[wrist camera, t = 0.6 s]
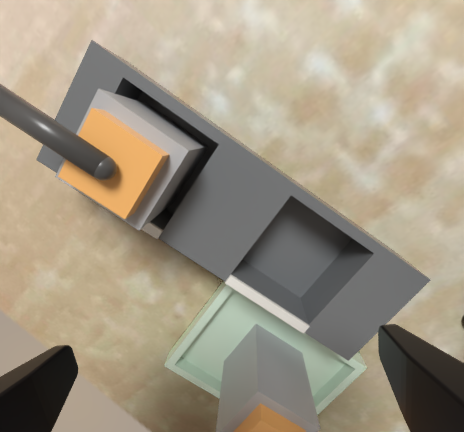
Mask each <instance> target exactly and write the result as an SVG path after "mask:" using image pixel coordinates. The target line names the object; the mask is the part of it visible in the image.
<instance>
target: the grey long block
mask: <svg viewBox="0 0 464 432" xmlns="http://www.w3.org/2000/svg"><path fill="white" fill-rule="evenodd" d="M98 88H99V89H102V90H105V91H108V92H111V93H114V94H118V95H121V96H124V97H127V98H130V99H133V100H136V101H140V102H143V103H146V104H149V105H150V106H152V107H153V108H155V109H156V110H157V111H159V112H160V113H162V114H163V115H165V116H166V117H167V118H169V119H170V120H172V121H173V122H175V123H176V124H178V125H179V126H180V127H182V128H183V129H185V130H186V131H188V132H189V133H190V134H192V135H193V136H195V137H196V138H198V139H199V140H200V141H202V142H203V143H205V144H206V145H208V148H207V150H206V151H205V153H204V154H203V156H202V157H201V159H200V161H199V162H198V164H197V165H196V167H195V168H194V170H193V171H192V173H191V175H190V176H189V178H188V179H187V181H186V182H185V184H184V186H183V187H182V189H181V190H180V192H179V193H178V195H177V197H176V198H175V200H174V201H173V203H171V204H170V205H169V206H168V207H167V208H165V209H164V210H163V211H162V212H161V213H160V214H158V215H157V216H156V217H155V218H154V219H152V220H151V221H150V222H149V223H148V224H147V225H145V226H144V227H143V228H142V230H143V231H145V232H146V233H148V234H149V235H151V236H152V237H154V238H156V239H160V240H162V241H163V242H165V243H166V244H168V245H169V246H171V247H172V248H174V249H176V250H177V251H179V252H180V253H182V254H183V255H185V256H186V257H188V258H189V259H191V260H193V261H194V262H196V263H197V264H199V265H200V266H202V267H203V268H205V269H207V270H208V271H210V272H211V273H213V274H214V275H216V276H217V277H219V278H221V279H222V280H224V281H225V284H227V285H229V286H230V287H232V288H233V289H235V290H236V291H238V292H239V293H241V294H242V295H244V296H246V297H247V298H249V299H250V300H252V301H253V302H255V303H256V304H258V305H260V306H261V307H263V308H264V309H266V310H267V311H269V312H270V313H272V314H274V315H275V316H277V317H278V318H280V319H281V320H283V321H284V322H286V323H288V324H289V325H291V326H292V327H294V328H295V329H297V330H298V331H300V332H302V333H303V334H304V333H306V334H307V335H309V336H310V337H312V338H314V339H315V340H317V341H318V342H320V343H321V344H323V345H324V346H326V347H328V348H329V349H331V350H332V351H334V352H335V353H337V354H338V355H340V356H342V357H343V358H345V359H346V360H348V361H349V360H350V359H351V358H352V357H353V356H354V355H355V354H356V353H357V352H358V351H359V350H360V349H361V348H362V347H363V346H364V345H365V344H366V343H367V342H368V341H369V340H370V339H371V338H372V337H373V336H374V335H375V334H376V333H377V332H378V330H379V327H380V326H381V325H385V324H386V323H387V322H389V321H390V320H391V319H392V318H393V317H394V316H395V315H396V314H397V313H398V312H399V311H400V310H401V309H402V308H403V307H404V306H405V305H406V304H407V303H408V302H409V301H410V300H411V299H412V298H413V297H414V296H415V295H416V294H417V293H418V292H419V291H420V290H421V289H422V288H423V287H424V286H425V285H426V284H427V283H428V282H429V281H430V279H429V278H427V277H426V276H425V275H424V274H422V273H421V272H420V271H419V270H417V269H416V268H415V267H414V266H412V265H411V264H410V263H409V262H407V261H406V260H405V259H404V258H402V257H401V256H400V255H398V254H397V253H396V252H395V251H393V250H392V249H390V248H389V247H388V246H386V245H385V244H383V243H382V242H380V241H379V240H378V239H376V238H375V237H373V236H372V235H371V234H369V233H368V232H366V231H365V230H364V229H362V228H361V227H359V226H358V225H357V224H355V223H354V222H352V221H351V220H349V219H348V218H347V217H345V216H344V215H342V214H341V213H340V212H338V211H337V210H335V209H334V208H333V207H331V206H330V205H328V204H327V203H326V202H324V201H323V200H321V199H320V198H318V197H317V196H316V195H314V194H313V193H311V192H310V191H309V190H307V189H306V188H304V187H303V186H302V185H300V184H299V183H297V182H296V181H295V180H293V179H292V178H290V177H289V176H287V175H286V174H285V173H283V172H282V171H280V170H279V169H278V168H276V167H275V166H273V165H272V164H271V163H269V162H268V161H266V160H265V159H264V158H262V157H261V156H259V155H258V154H256V153H255V152H254V151H252V150H251V149H249V148H248V147H247V146H245V145H244V144H242V143H241V142H240V141H238V140H237V139H235V138H234V137H233V136H231V135H230V134H228V133H227V132H226V131H224V130H223V129H221V128H220V127H218V126H217V125H216V124H214V123H213V122H211V121H210V120H209V119H207V118H206V117H204V116H203V115H202V114H200V113H199V112H197V111H196V110H195V109H193V108H192V107H190V106H189V105H187V104H186V103H185V102H183V101H182V100H180V99H179V98H178V97H176V96H175V95H173V94H172V93H171V92H169V91H168V90H166V89H165V88H164V87H162V86H161V85H159V84H158V83H156V82H155V81H154V80H152V79H151V78H149V77H148V76H147V75H145V74H144V73H142V72H141V71H140V70H138V69H137V68H135V67H134V66H133V65H131V64H130V63H128V62H127V61H125V60H124V59H122V58H120V57H119V56H117V55H116V54H114V53H112V52H111V51H109V50H107V49H106V48H104V47H102V46H101V45H99V44H98V43H96V42H94V41H93V40H91V43H90V45H89V47H88V49H87V51H86V53H85V56H84V58H83V60H82V62H81V64H80V66H79V69H78V71H77V73H76V75H75V77H74V79H73V82H72V84H71V86H70V88H69V90H68V92H67V95H66V97H65V99H64V101H63V103H62V105H61V107H60V110H59V112H58V114H57V116H56V118H55V121H57V122H58V123H60V124H61V125H63V126H64V127H66V128H67V129H69V130H70V131H72V132H73V133H75V134H76V133H77V131H78V129H79V127H80V125H81V123H82V121H83V119H84V117H85V115H86V113H87V111H88V109H89V107H90V105H91V102H92V100H93V98H94V96H95V94H96V92H97V90H98ZM63 159H64V158H63V157H62V156H60V155H59V154H57V153H56V152H54V151H53V150H51V149H50V148H48V147H47V146H45V145H43V146H42V149H41V151H40V153H39V155H38V157H37V159H36V160H37V161H39V162H41V163H42V164H44V165H45V166H47V167H48V168H50V169H51V170H53V171H55V172H56V173H57V172H58V170H59V168H60V166H61V164H62V162H63Z"/></svg>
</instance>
